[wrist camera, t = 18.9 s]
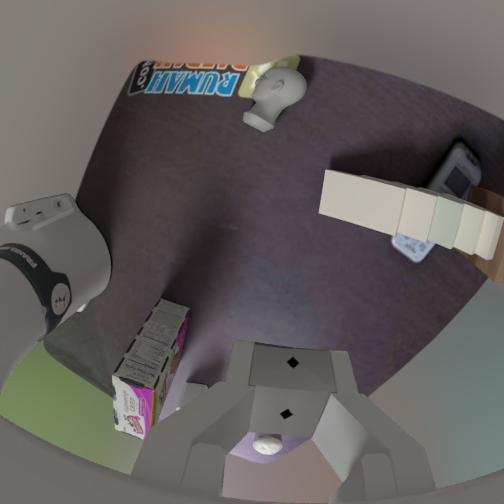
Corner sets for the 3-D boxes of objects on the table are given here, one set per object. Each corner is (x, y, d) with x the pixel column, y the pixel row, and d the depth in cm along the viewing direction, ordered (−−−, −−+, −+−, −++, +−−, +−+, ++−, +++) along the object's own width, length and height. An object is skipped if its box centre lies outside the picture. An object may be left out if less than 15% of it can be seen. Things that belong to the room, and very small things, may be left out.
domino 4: (409, 226, 34) (471, 255, 27) (417, 187, 32) (483, 211, 26) (415, 226, 35) (475, 253, 28) (423, 187, 33) (486, 211, 26)
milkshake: (289, 414, 49) (289, 460, 40) (260, 417, 50) (255, 462, 41) (285, 398, 48) (284, 446, 38) (254, 401, 48) (248, 448, 39)
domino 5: (433, 230, 35) (486, 259, 27) (442, 192, 33) (498, 216, 25) (440, 231, 35) (492, 259, 27) (449, 194, 33) (504, 217, 25)
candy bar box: (182, 362, 46) (150, 444, 31) (152, 352, 46) (113, 429, 31) (193, 306, 42) (154, 392, 27) (159, 295, 42) (108, 374, 27)
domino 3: (382, 222, 34) (450, 249, 28) (391, 181, 32) (462, 204, 26) (388, 221, 35) (453, 246, 29) (396, 181, 33) (465, 203, 27)
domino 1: (318, 213, 34) (394, 235, 30) (325, 169, 33) (405, 189, 28) (324, 211, 36) (397, 232, 31) (330, 169, 34) (407, 188, 29)
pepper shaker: (210, 398, 49) (199, 441, 40) (187, 396, 49) (174, 437, 41) (208, 383, 48) (196, 427, 39) (184, 380, 48) (169, 423, 39)
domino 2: (352, 217, 34) (425, 242, 29) (360, 175, 32) (436, 196, 27) (357, 216, 36) (427, 239, 30) (365, 175, 34) (438, 196, 28)
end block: (455, 248, 36) (493, 281, 26) (471, 184, 32) (516, 203, 23) (475, 252, 36) (514, 284, 26) (491, 191, 32) (536, 211, 23)
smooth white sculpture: (282, 66, 31) (316, 91, 30) (236, 115, 33) (268, 142, 33) (273, 50, 27) (311, 76, 26) (222, 104, 29) (257, 133, 29)
